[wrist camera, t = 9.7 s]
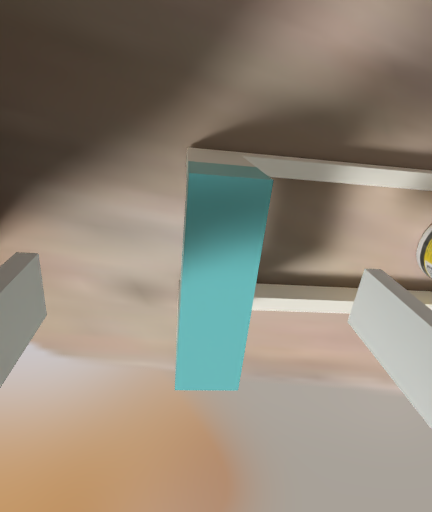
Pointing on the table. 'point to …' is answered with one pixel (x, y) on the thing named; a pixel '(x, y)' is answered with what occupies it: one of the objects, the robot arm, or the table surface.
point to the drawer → (248, 255)
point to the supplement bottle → (425, 252)
